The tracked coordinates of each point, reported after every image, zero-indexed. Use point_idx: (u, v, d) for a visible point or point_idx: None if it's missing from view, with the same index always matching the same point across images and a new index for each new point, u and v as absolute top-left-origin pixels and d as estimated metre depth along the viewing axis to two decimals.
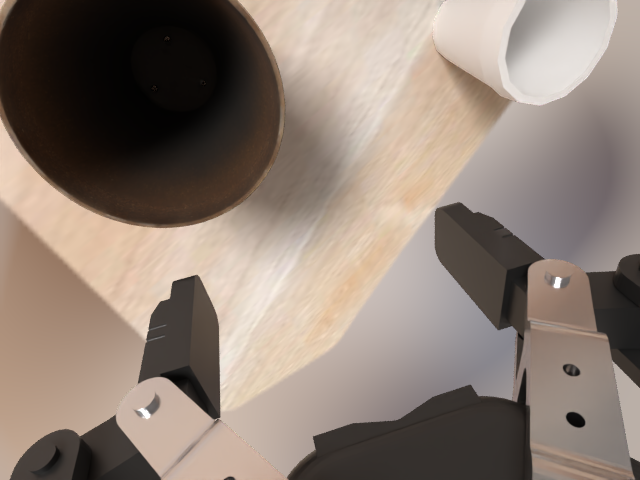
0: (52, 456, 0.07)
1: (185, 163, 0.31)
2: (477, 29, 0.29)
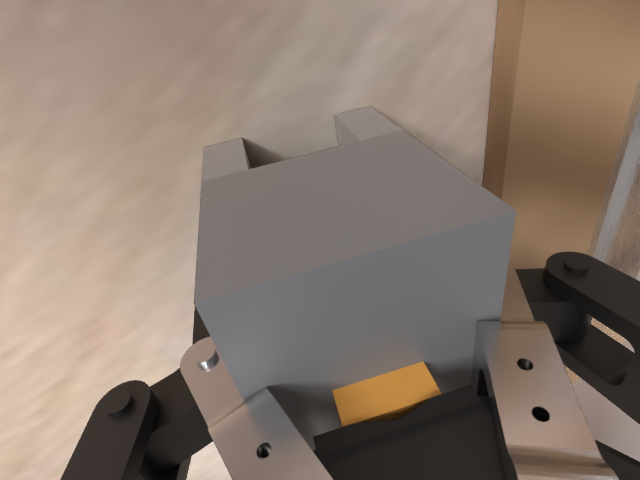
0: (126, 403, 0.08)
1: None
2: None
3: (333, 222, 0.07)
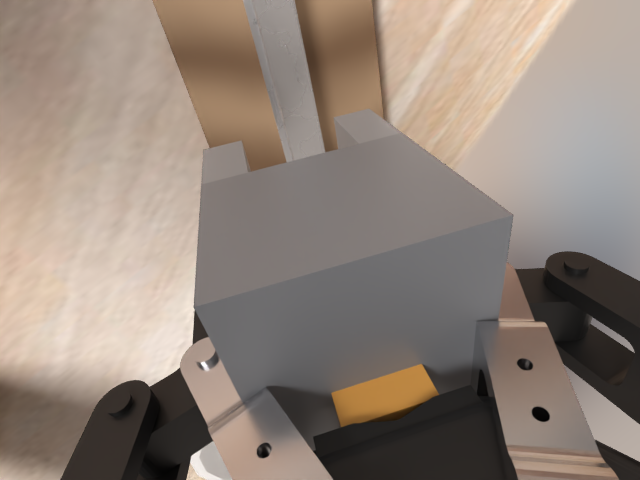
0: (126, 404, 0.08)
1: None
2: None
3: (332, 225, 0.07)
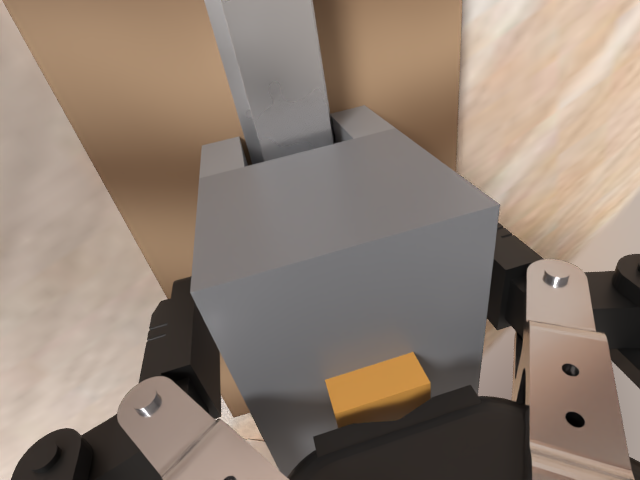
0: (53, 455, 0.07)
1: None
2: None
3: (325, 216, 0.07)
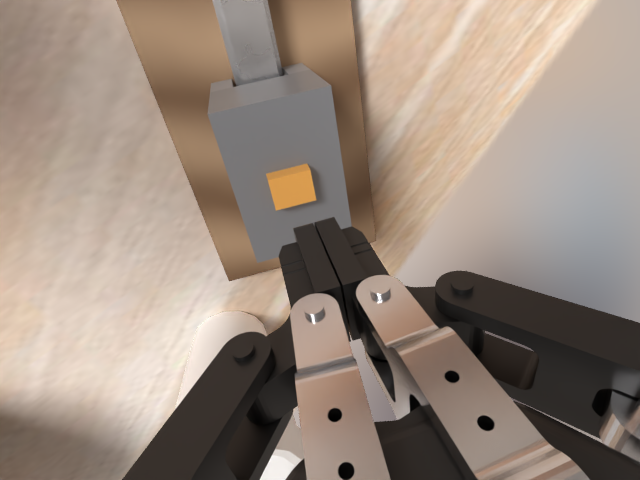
0: (248, 353, 0.08)
1: None
2: None
3: (263, 94, 0.17)
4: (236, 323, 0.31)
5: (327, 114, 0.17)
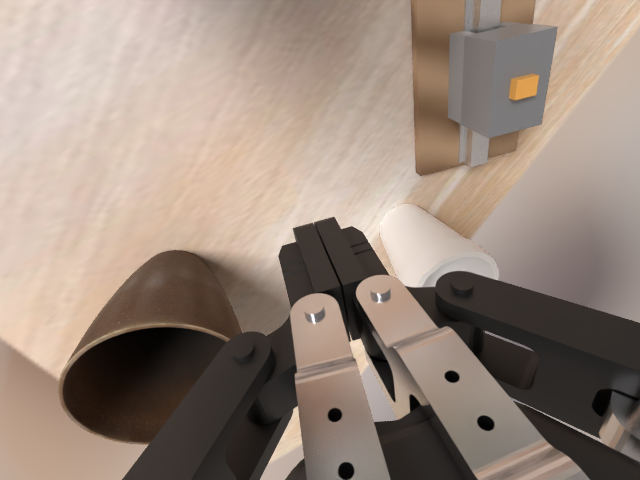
0: (248, 353, 0.08)
1: (184, 363, 0.41)
2: (400, 271, 0.40)
3: (515, 33, 0.31)
4: (418, 208, 0.45)
5: (551, 43, 0.31)
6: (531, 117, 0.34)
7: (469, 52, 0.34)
